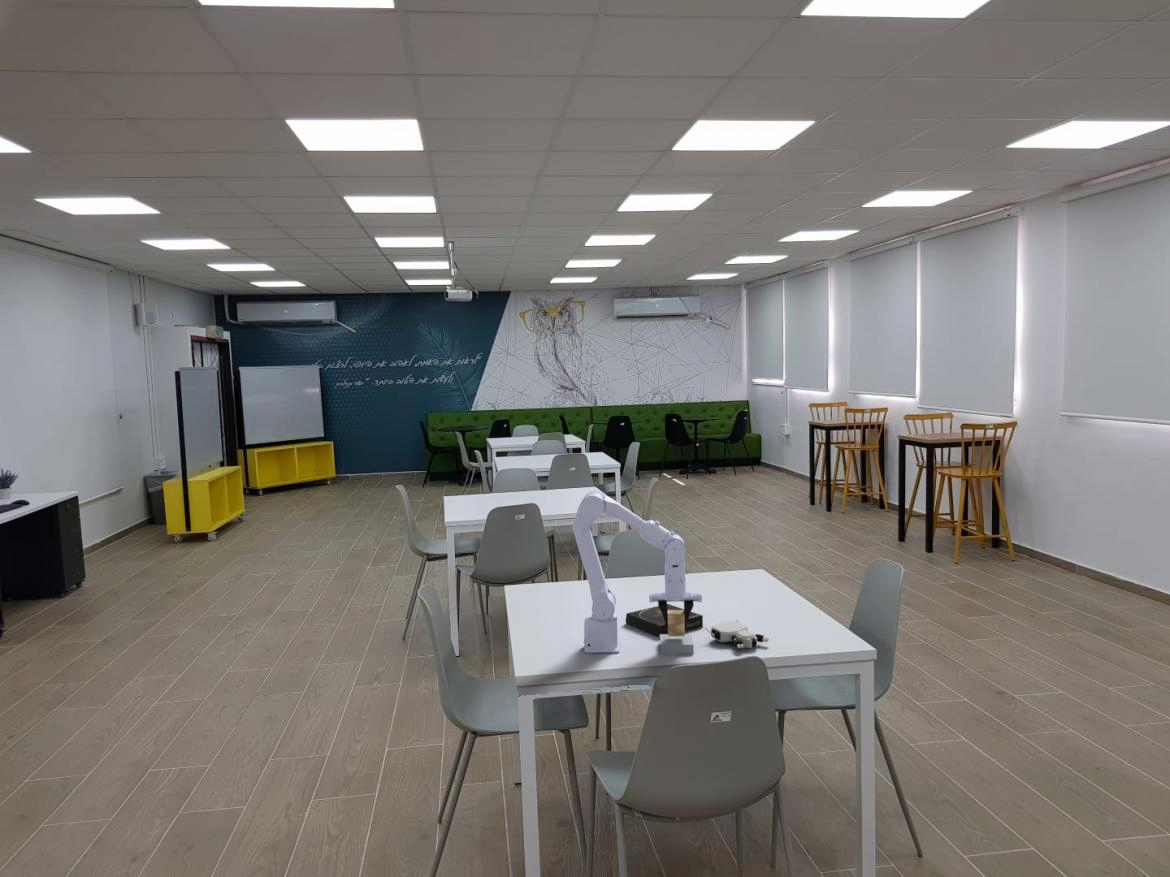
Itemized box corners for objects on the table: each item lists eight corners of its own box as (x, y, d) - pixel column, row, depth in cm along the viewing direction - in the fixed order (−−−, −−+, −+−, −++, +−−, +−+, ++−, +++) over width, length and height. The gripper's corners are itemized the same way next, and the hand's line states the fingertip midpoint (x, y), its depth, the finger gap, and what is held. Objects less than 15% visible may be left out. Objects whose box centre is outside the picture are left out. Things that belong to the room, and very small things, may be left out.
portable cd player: (666, 615, 259) (666, 603, 258) (702, 628, 244) (702, 615, 244) (625, 625, 250) (625, 612, 249) (660, 639, 235) (660, 626, 235)
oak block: (668, 636, 223) (667, 615, 223) (667, 631, 228) (667, 610, 227) (684, 636, 223) (684, 614, 222) (683, 630, 227) (683, 610, 227)
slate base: (660, 655, 222) (660, 644, 222) (660, 644, 231) (659, 634, 230) (693, 655, 221) (693, 644, 221) (691, 644, 230) (691, 634, 230)
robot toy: (771, 649, 226) (735, 631, 238) (772, 634, 225) (735, 617, 238) (738, 658, 219) (702, 639, 232) (739, 642, 219) (703, 624, 231)
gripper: (649, 582, 221) (650, 631, 222) (702, 582, 220) (703, 631, 221) (648, 576, 228) (649, 623, 229) (700, 576, 227) (701, 623, 228)
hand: (676, 626), depth 225 cm, fingers closed on oak block, 4 cm apart
